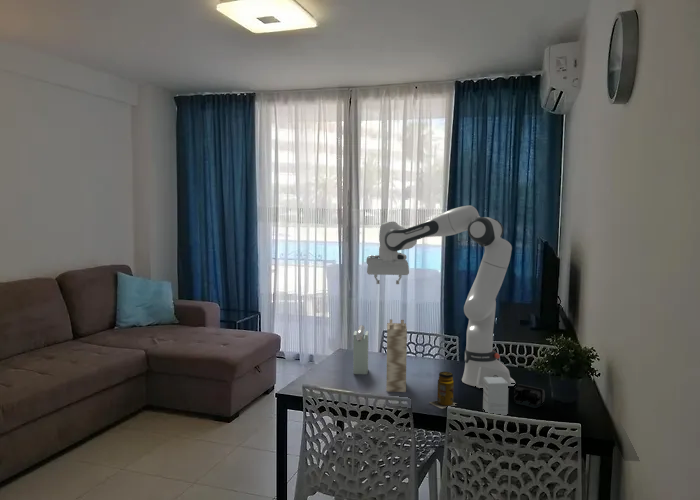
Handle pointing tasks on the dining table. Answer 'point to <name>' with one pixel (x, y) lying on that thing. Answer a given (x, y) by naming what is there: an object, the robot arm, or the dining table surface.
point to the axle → (360, 333)
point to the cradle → (360, 354)
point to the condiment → (445, 390)
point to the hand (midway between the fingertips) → (387, 284)
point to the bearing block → (396, 356)
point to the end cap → (529, 394)
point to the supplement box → (495, 395)
